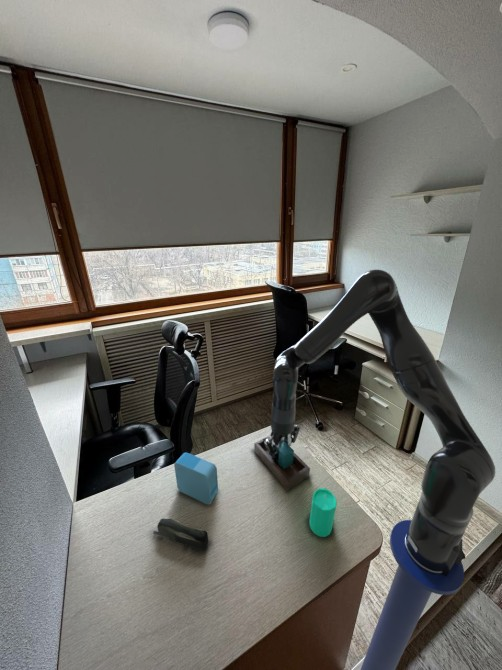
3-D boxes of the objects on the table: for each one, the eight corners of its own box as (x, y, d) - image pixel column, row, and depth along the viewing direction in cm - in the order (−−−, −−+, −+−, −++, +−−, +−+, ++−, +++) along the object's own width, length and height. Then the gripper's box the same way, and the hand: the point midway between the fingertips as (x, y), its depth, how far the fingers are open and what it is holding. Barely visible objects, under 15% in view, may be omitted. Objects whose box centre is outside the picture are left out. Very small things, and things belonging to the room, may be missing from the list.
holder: (309, 476, 87) (310, 468, 85) (287, 490, 82) (288, 481, 81) (274, 440, 101) (274, 432, 100) (254, 451, 97) (254, 442, 95)
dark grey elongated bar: (209, 528, 68) (155, 513, 71) (204, 541, 65) (149, 524, 68) (209, 540, 69) (157, 525, 73) (205, 553, 67) (151, 537, 70)
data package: (218, 493, 81) (216, 464, 77) (210, 506, 78) (208, 476, 73) (186, 478, 86) (183, 450, 81) (177, 490, 82) (173, 461, 78)
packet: (277, 448, 95) (278, 435, 93) (292, 464, 89) (294, 450, 87) (268, 453, 93) (269, 440, 91) (283, 469, 87) (284, 455, 85)
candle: (310, 511, 76) (314, 481, 72) (332, 518, 75) (338, 488, 70) (307, 532, 71) (311, 501, 67) (331, 540, 69) (336, 509, 65)
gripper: (292, 401, 90) (289, 440, 97) (257, 416, 83) (257, 457, 90) (308, 413, 85) (303, 454, 91) (272, 431, 77) (270, 474, 84)
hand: (280, 455), depth 91 cm, fingers closed on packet, 4 cm apart
